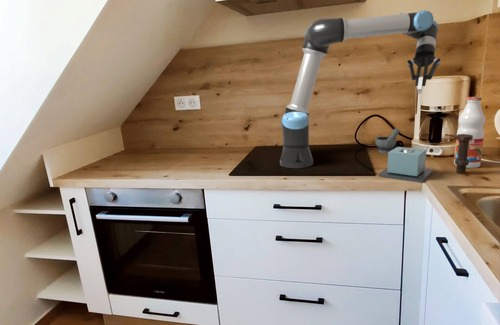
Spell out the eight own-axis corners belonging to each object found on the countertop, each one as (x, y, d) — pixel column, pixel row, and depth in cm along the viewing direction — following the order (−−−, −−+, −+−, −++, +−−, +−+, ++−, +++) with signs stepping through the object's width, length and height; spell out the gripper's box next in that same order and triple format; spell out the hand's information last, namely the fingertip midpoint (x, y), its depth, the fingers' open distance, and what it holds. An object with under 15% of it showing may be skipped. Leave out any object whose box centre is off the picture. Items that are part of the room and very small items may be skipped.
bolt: (454, 170, 138) (458, 133, 134) (469, 172, 135) (473, 134, 131) (451, 174, 134) (455, 136, 130) (466, 176, 131) (471, 137, 127)
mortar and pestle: (373, 153, 172) (374, 129, 169) (376, 149, 180) (377, 126, 177) (397, 154, 167) (399, 130, 164) (399, 150, 175) (401, 126, 172)
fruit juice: (480, 163, 145) (488, 96, 138) (480, 169, 138) (488, 98, 131) (454, 161, 150) (460, 96, 143) (452, 167, 143) (459, 98, 136)
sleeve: (387, 172, 136) (388, 152, 134) (396, 165, 144) (397, 146, 142) (417, 176, 129) (418, 155, 127) (425, 169, 137) (426, 149, 135)
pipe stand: (378, 176, 136) (379, 151, 134) (392, 166, 148) (393, 143, 145) (422, 182, 126) (424, 156, 124) (433, 171, 138) (435, 147, 135)
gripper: (442, 54, 151) (437, 97, 141) (409, 57, 158) (402, 97, 148) (442, 41, 145) (437, 84, 136) (408, 44, 152) (401, 85, 142)
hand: (419, 91), depth 142 cm, fingers closed
